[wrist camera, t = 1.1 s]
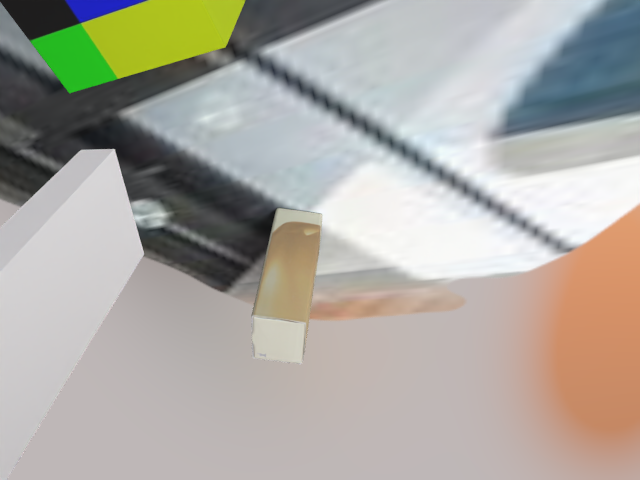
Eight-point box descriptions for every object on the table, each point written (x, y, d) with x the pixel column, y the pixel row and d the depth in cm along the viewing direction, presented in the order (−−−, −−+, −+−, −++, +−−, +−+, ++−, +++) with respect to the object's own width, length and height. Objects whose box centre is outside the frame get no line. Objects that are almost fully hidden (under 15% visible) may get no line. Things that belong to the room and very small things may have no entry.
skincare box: (318, 256, 56) (303, 367, 48) (274, 251, 56) (251, 361, 48) (323, 210, 51) (307, 324, 43) (275, 204, 51) (250, 317, 43)
